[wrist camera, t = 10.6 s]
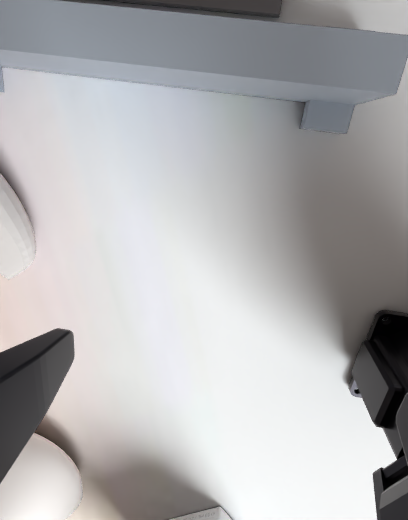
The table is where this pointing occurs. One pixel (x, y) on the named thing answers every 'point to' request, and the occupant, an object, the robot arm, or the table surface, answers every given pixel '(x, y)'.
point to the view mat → (220, 5)
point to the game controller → (14, 234)
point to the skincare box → (206, 515)
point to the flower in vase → (40, 484)
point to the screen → (207, 54)
